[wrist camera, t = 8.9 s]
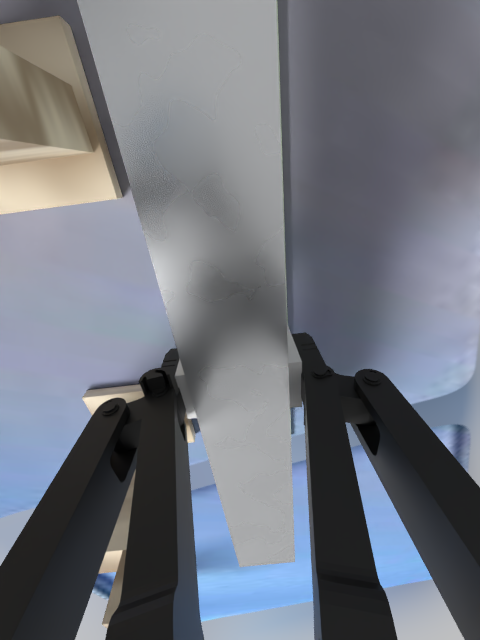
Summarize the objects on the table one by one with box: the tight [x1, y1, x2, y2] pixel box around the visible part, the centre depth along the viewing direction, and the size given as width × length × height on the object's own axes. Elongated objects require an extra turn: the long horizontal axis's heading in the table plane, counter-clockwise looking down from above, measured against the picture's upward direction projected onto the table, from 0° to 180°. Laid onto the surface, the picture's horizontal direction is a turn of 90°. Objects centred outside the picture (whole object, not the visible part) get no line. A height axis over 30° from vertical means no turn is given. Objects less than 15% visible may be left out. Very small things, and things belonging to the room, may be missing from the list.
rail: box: [77, 0, 295, 567], centre depth 13 cm, size 32×4×5 cm, turn 7°
